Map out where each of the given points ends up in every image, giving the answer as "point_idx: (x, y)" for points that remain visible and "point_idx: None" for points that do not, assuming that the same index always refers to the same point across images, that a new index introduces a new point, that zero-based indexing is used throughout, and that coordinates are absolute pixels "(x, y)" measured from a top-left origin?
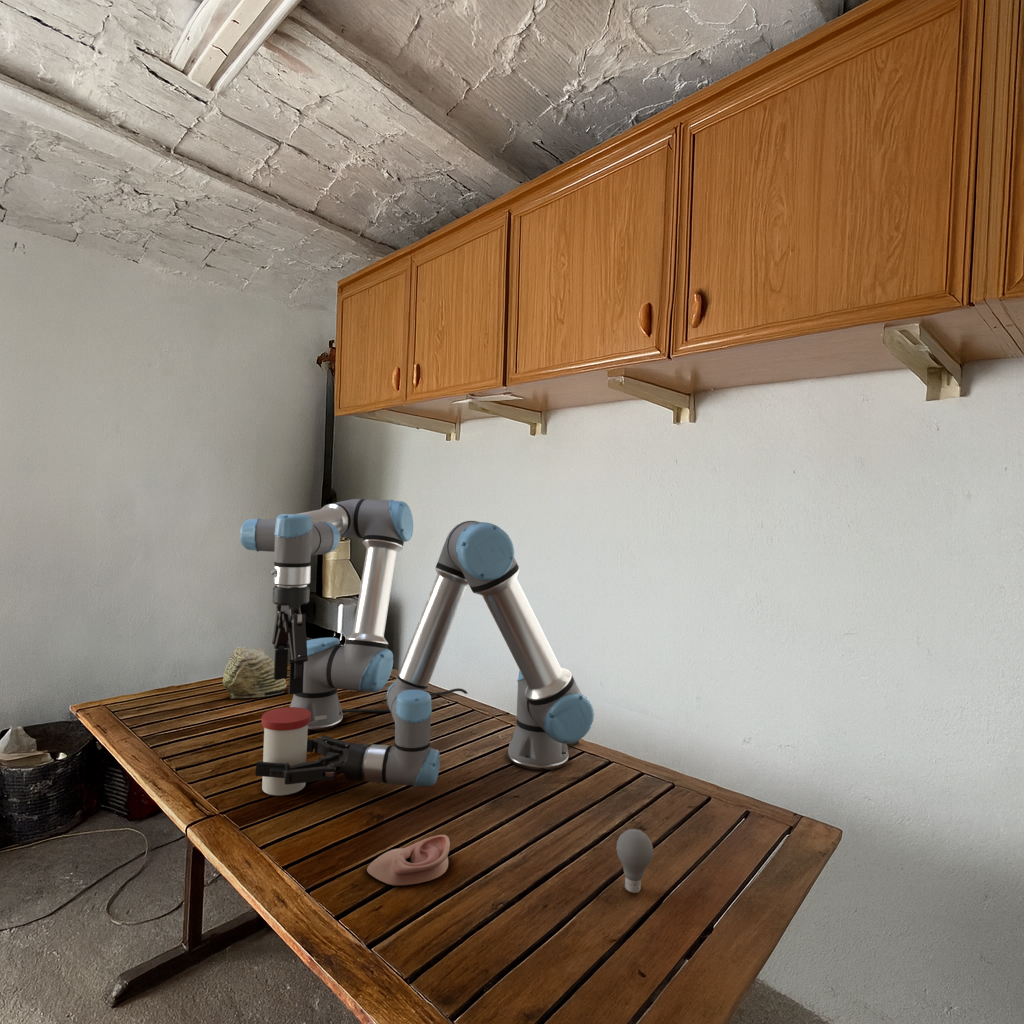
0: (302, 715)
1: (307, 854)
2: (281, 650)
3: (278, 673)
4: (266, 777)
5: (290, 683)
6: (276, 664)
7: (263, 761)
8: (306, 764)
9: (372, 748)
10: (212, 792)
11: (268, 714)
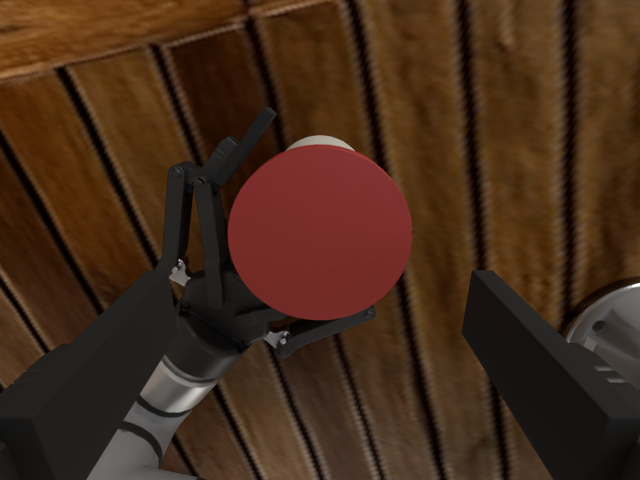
0: (286, 287)
1: (12, 145)
2: (591, 461)
3: (484, 308)
4: (300, 142)
5: (112, 306)
6: (521, 332)
7: (322, 141)
8: (202, 227)
9: (161, 379)
10: (370, 20)
11: (358, 181)
